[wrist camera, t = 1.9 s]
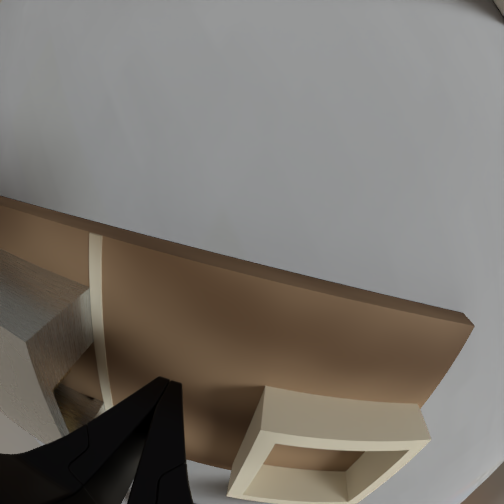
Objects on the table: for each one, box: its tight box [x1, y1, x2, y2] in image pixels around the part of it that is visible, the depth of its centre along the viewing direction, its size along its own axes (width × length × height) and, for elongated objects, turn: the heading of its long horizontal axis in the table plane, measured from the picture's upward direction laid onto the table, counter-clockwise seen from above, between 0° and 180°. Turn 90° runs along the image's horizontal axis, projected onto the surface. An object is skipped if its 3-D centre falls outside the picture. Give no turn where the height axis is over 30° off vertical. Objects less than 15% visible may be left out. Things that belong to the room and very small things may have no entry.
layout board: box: [0, 196, 474, 472], centre depth 13 cm, size 14×33×1 cm, turn 77°
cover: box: [0, 249, 106, 444], centre depth 11 cm, size 9×8×4 cm
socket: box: [226, 386, 431, 504], centre depth 12 cm, size 8×8×2 cm
